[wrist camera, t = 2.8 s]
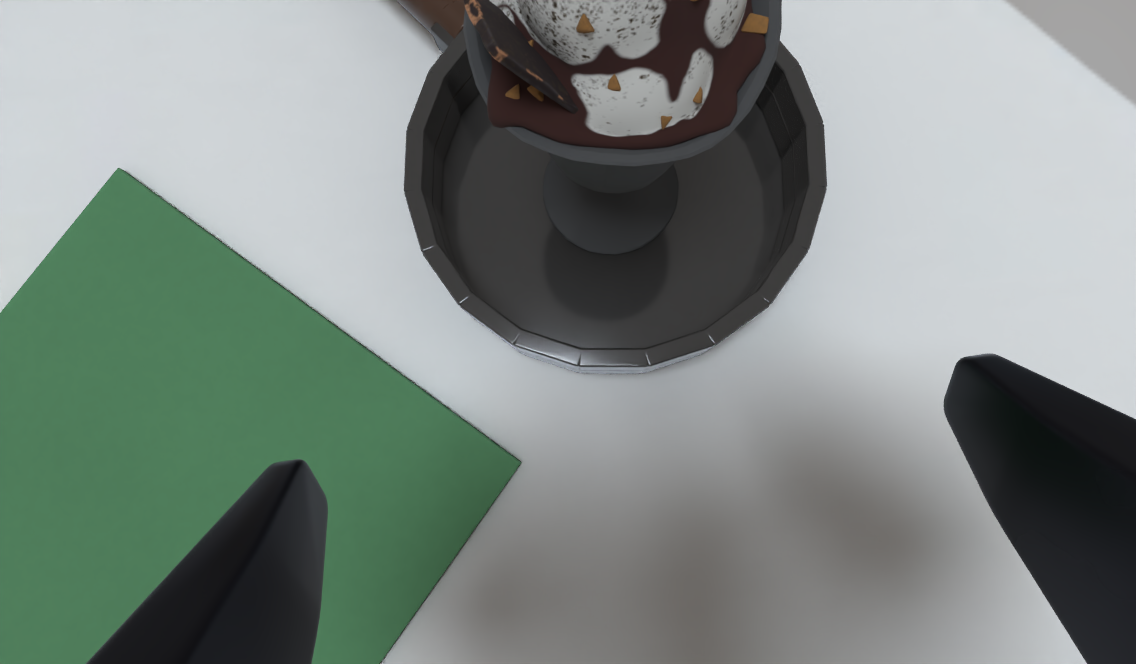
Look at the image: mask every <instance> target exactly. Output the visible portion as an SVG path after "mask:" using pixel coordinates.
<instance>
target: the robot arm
mask: <svg viewBox="0 0 1136 664" xmlns="http://www.w3.org/2000/svg"><path fill="white" fill-rule="evenodd" d="M944 412H945V416H946V418H947V420H948V422H949V424H950V426H951V429H952V431H953V433H954V435H955V437H956V439H957V441H958V443H959V445H960V447H961V449H962V451H963V453H964V455H965V457H966V459H967V461H968V463H969V465H970V468H971V470H972V472H973V474H974V476H975V478H976V480H977V482H978V484H979V486H980V488H981V490H982V492H983V494H984V496H985V498H986V500H987V502H988V504H989V506H990V508H991V510H992V512H993V513H994V515H995V517H996V519H997V520H998V522H999V524H1000V525H1001V527H1002V529H1003V530H1004V532H1005V534H1006V535H1007V537H1008V538H1009V540H1010V541H1011V543H1012V545H1013V546H1014V548H1015V549H1016V551H1017V553H1018V554H1019V556H1020V557H1021V559H1022V561H1023V562H1024V564H1025V565H1026V567H1027V569H1028V570H1029V572H1030V573H1031V575H1032V577H1033V578H1034V580H1035V581H1036V583H1037V584H1038V586H1039V588H1040V589H1041V591H1042V592H1043V594H1044V596H1045V597H1046V599H1047V600H1048V602H1049V604H1050V605H1051V607H1052V608H1053V610H1054V612H1055V613H1056V615H1057V616H1058V618H1059V620H1060V621H1061V623H1062V624H1063V626H1064V627H1065V629H1066V631H1067V632H1068V634H1069V635H1070V637H1071V639H1072V640H1073V642H1074V643H1075V645H1076V647H1077V648H1078V650H1079V651H1080V653H1081V655H1082V656H1083V658H1084V659H1085V661H1086V663H1087V664H1136V419H1134V418H1132V417H1130V416H1128V415H1125V414H1123V413H1121V412H1119V411H1117V410H1115V409H1112V408H1110V407H1108V406H1106V405H1104V404H1102V403H1100V402H1097V401H1095V400H1093V399H1091V398H1089V397H1087V396H1085V395H1082V394H1080V393H1078V392H1076V391H1074V390H1072V389H1069V388H1067V387H1065V386H1063V385H1061V384H1059V383H1057V382H1054V381H1052V380H1050V379H1048V378H1046V377H1044V376H1041V375H1039V374H1037V373H1035V372H1033V371H1031V370H1029V369H1026V368H1024V367H1022V366H1020V365H1018V364H1016V363H1013V362H1011V361H1009V360H1007V359H1005V358H1003V357H1001V356H998V355H996V354H981V355H975V356H968V357H964V358H961V359H960V360H959V361H958V362H957V363H956V365H955V368H954V371H953V374H952V377H951V380H950V383H949V386H948V389H947V392H946V395H945V398H944ZM327 519H328V504H327V499H326V496H325V494H324V492H323V490H322V488H321V486H320V485H319V483H318V481H317V479H316V478H315V476H314V474H313V472H312V471H311V469H310V467H309V465H308V464H307V463H306V462H305V461H304V460H302V459H294V460H288V461H281V462H276V463H273V464H271V465H270V466H269V467H267V468H266V469H265V470H264V472H263V473H262V474H261V475H260V476H259V477H258V478H257V479H256V480H255V481H254V482H253V483H252V484H251V486H250V487H249V488H248V489H247V490H246V491H245V492H244V493H243V494H242V495H241V496H240V497H239V499H238V500H237V501H236V502H235V503H234V504H233V505H232V506H231V507H230V508H229V509H228V510H227V511H226V513H225V514H224V515H223V516H222V517H221V518H220V519H219V520H218V521H217V522H216V523H215V524H214V526H213V527H212V528H211V529H210V530H209V531H208V532H207V533H206V534H205V535H204V536H203V537H202V538H201V540H200V541H199V542H198V543H197V544H196V545H195V546H194V547H193V548H192V549H191V550H190V551H189V553H188V554H187V555H186V556H185V557H184V558H183V559H182V560H181V561H180V562H179V563H178V564H177V565H176V567H175V568H174V569H173V570H172V571H171V572H170V573H169V574H168V575H167V576H166V577H165V578H164V580H163V581H162V582H161V583H160V584H159V585H158V586H157V587H156V588H155V589H154V590H153V591H152V592H151V594H150V595H149V596H148V597H147V598H146V599H145V600H144V601H143V602H142V603H141V604H140V605H139V607H138V608H137V609H136V610H135V611H134V612H133V613H132V614H131V615H130V616H129V617H128V618H127V619H126V621H125V622H124V623H123V624H122V625H121V626H120V627H119V628H118V629H117V630H116V631H115V632H114V634H113V635H112V636H111V637H110V638H109V639H108V640H107V641H106V642H105V643H104V644H103V645H102V646H101V648H100V649H99V650H98V651H97V652H96V653H95V654H94V655H93V656H92V657H91V658H90V659H89V661H88V662H87V663H86V664H312V659H313V653H314V648H315V643H316V637H317V632H318V625H319V619H320V610H321V601H322V587H323V574H324V560H325V547H326V533H327Z"/></svg>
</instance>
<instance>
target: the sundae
mask: <svg viewBox="0 0 1136 664" xmlns="http://www.w3.org/2000/svg"><path fill="white" fill-rule="evenodd" d="M781 2H782V0H464V5H465V13H464V25H463V32H464V37H465V43H466V49H467V54H468V60H469V63H470V67H471V70H472V74H473V77H474V80H475V84H476V86H477V88H478V90H479V92H480V94H481V96H482V98H483V99H484V101H485V103H486V105H487V113H488V117H489V120H490V122H491V123H492V125H493V126H494V127H498V128H506V129H507V130H508V131H510V132H511V133H512V134H513V135H515V136H516V137H517V138H519V139H520V140H521V141H523V142H525V143H528V144H530V145H532V146H534V147H537V148H539V149H541V150H543V151H546V152H548V153H549V155H550V156H551V157H552V158H551V160H550V162H549V164H548V166H547V168H546V171H545V176H544V181H543V199H544V203H545V207H546V210H547V213H548V216H549V219H550V220H551V222H552V223H553V224H554V226H555V227H556V229H557V230H558V231H559V232H560V233H561V234H562V235H563V236H564V238H565V239H567V240H568V241H570V242H571V243H573V244H575V245H576V246H578V247H580V248H582V249H585V250H587V251H589V252H594V253H600V254H615V255H616V254H621V253H626V252H630V251H633V250H636V249H639V248H641V247H643V246H645V245H646V244H648V243H649V242H651V241H652V240H653V239H655V238H656V237H657V236H658V235H659V234H660V233H661V232H663V230H664V229H665V227H666V226H667V224H668V223H669V221H670V220H671V218H672V216H673V213H674V211H675V209H676V205H677V200H678V189H679V182H678V178H677V173H676V170H675V167H674V165H673V164H674V163H675V162H676V160H681V159H686V158H690V157H692V156H694V155H697V154H699V153H701V152H703V151H705V150H708V149H710V148H712V147H713V146H715V145H716V144H717V143H719V142H720V141H721V140H723V139H724V138H725V137H726V136H728V135H729V134H730V133H731V132H732V131H733V130H734V129H735V128H736V127H737V126H738V124H739V123H740V122H741V121H742V120H743V119H744V118H745V116H746V115H747V114H748V113H749V112H750V110H751V109H752V107H753V105H754V103H755V102H756V100H757V98H758V96H759V95H760V93H761V91H762V89H763V88H764V85H765V83H766V81H767V78H768V76H769V74H770V72H771V69H772V67H773V65H774V62H775V60H776V58H777V52H778V46H779V40H780V33H781Z"/></svg>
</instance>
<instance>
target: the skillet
mask: <svg viewBox="0 0 1136 664" xmlns="http://www.w3.org/2000/svg"><path fill="white" fill-rule="evenodd" d="M551 158H552V157H551V156H550V155H549V153H548V152H546V151H543V150H541V149H539V148H537V147H534V146H532V145H530V144H528V143H525V142H523V141H521V140H520V139H519V138H517V137H516V136H515V135H513V134H512V133H511V132H510V131H508V130H507V129H506V128H498V127H494V126H493V125H492V123H491V122H490V120H489V117H488V113H487V105H486V103H485V101H484V99H483V98H482V96H481V94H480V92H479V90H478V88H477V86H476V84H475V80H474V77H473V74H472V70H471V67H470V63H469V60H468V54H467V49H466V43H465V37H464V32H463V29H462V30H461V31H460V32H459V34H458V35H457V36H456V37H455V39H454V40H453V41H452V42H451V44H450V45H449V46H448V47H447V49H446V50H445V51H444V52H443V54H442V55H441V56H440V57H439V59H438V60H437V61H436V62H435V64H434V65H433V66H432V67H431V69H430V70H429V72H428V74H427V77H426V80H425V82H424V85H423V87H422V90H421V93H420V95H419V98H418V101H417V103H416V106H415V108H414V111H413V114H412V116H411V119H410V122H409V124H408V127H407V131H406V153H405V176H404V192H405V197H406V201H407V204H408V208H409V211H410V214H411V218H412V221H413V225H414V228H415V232H416V235H417V238H418V242H419V245H420V249H421V251H422V252H423V256H424V257H425V258H426V260H427V261H428V263H429V264H430V265H431V267H432V268H433V270H434V271H435V273H436V274H437V275H438V277H439V278H440V280H441V281H442V283H443V284H444V285H445V287H446V288H447V290H448V291H449V293H450V294H451V295H452V297H453V298H454V300H455V301H456V302H457V304H458V305H459V306H460V307H461V308H462V309H463V310H464V311H466V312H467V313H468V314H469V315H470V316H472V317H473V318H474V319H475V320H476V321H478V322H479V323H480V324H482V325H483V326H484V327H486V328H487V329H489V330H490V331H491V332H493V333H494V334H495V335H497V336H498V337H499V338H501V339H502V340H504V341H505V342H506V343H508V344H509V345H510V346H512V347H513V348H514V349H516V350H517V351H518V352H520V353H522V354H524V355H526V356H529V357H532V358H535V359H538V360H541V361H544V362H547V363H550V364H553V365H556V366H558V367H561V368H565V369H568V370H571V371H574V372H577V373H580V372H581V373H586V374H640V373H646V372H649V371H652V370H655V369H658V368H662V367H665V366H668V365H671V364H674V363H677V362H680V361H683V360H686V359H689V358H692V357H695V356H699V355H700V354H703V353H704V352H706V351H707V350H709V349H710V348H712V347H714V346H715V345H717V344H718V343H719V342H721V341H722V340H724V339H725V338H726V337H728V336H729V335H730V334H732V333H733V332H735V331H736V330H737V329H739V328H740V327H741V326H743V325H744V324H746V323H747V322H748V321H750V320H751V319H752V318H754V317H755V316H757V315H758V314H759V313H761V312H762V311H763V310H765V309H766V308H767V307H769V305H770V304H772V302H773V301H774V299H775V298H776V296H777V295H778V294H779V292H780V291H781V289H782V288H783V287H784V285H785V284H786V282H787V281H788V280H789V278H790V277H791V275H792V274H793V272H794V271H795V270H796V268H797V267H798V265H799V264H800V263H801V261H802V260H803V258H804V257H805V256H806V254H807V253H808V250H809V248H810V245H811V242H812V238H813V235H814V231H815V228H816V224H817V221H818V218H819V214H820V211H821V207H822V204H823V200H824V197H825V194H826V187H827V176H826V157H825V138H824V125H823V120H822V118H821V115H820V113H819V110H818V108H817V105H816V103H815V100H814V98H813V95H812V93H811V91H810V88H809V86H808V83H807V81H806V78H805V76H804V73H803V71H802V68H801V66H800V65H799V63H798V61H797V60H796V59H795V58H794V57H793V56H792V54H791V53H790V52H789V51H788V50H787V49H786V47H785V46H784V45H783V44H782V43H781V41H780V40H779V46H778V52H777V58H776V60H775V62H774V65H773V67H772V69H771V72H770V74H769V76H768V78H767V81H766V83H765V85H764V88H763V89H762V91H761V93H760V95H759V96H758V98H757V100H756V102H755V103H754V105H753V107H752V109H751V110H750V112H749V113H748V114H747V115H746V116H745V118H744V119H743V120H742V121H741V122H740V123H739V124H738V126H737V127H736V128H735V129H734V130H733V131H732V132H731V133H730V134H729V135H728V136H726V137H725V138H724V139H723V140H721V141H720V142H719V143H717V144H716V145H715V146H713V147H712V148H710V149H708V150H705V151H703V152H701V153H699V154H697V155H694V156H692V157H690V158H686V159H681V160H676V162H675V163H674V164H673V165H674V167H675V170H676V173H677V178H678V182H679V189H678V200H677V205H676V209H675V211H674V213H673V216H672V218H671V220H670V221H669V223H668V224H667V226H666V227H665V229H664V230H663V232H661V233H660V234H659V235H658V236H657V237H656V238H655V239H653V240H652V241H651V242H649V243H648V244H646V245H645V246H643V247H641V248H639V249H636V250H633V251H630V252H626V253H621V254H616V255H615V254H600V253H594V252H589V251H587V250H585V249H582V248H580V247H578V246H576V245H575V244H573V243H571V242H570V241H568V240H567V239H565V238H564V236H563V235H562V234H561V233H560V232H559V231H558V230H557V229H556V227H555V226H554V224H553V223H552V222H551V220H550V219H549V216H548V213H547V210H546V207H545V203H544V199H543V181H544V176H545V171H546V168H547V166H548V164H549V162H550V160H551Z"/></svg>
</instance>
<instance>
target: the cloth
mask: <svg viewBox="0 0 1136 664" xmlns="http://www.w3.org/2000/svg"><path fill="white" fill-rule="evenodd" d="M294 459H302V460H304V461H305V462H306V463H307V464H308V465H309V467H310V469H311V471H312V472H313V474H314V476H315V478H316V479H317V481H318V483H319V485H320V486H321V488H322V490H323V492H324V494H325V496H326V499H327V504H328V519H327V533H326V547H325V560H324V574H323V587H322V601H321V610H320V619H319V625H318V632H317V637H316V643H315V648H314V653H313V659H312V664H380V663H381V661H382V660H383V659H384V657H385V656H386V654H387V653H388V652H389V650H390V649H391V647H392V646H393V644H394V643H395V642H396V640H397V639H398V637H399V636H400V634H401V633H402V632H403V630H404V629H405V627H406V626H407V625H408V623H409V622H410V620H411V619H412V617H413V616H414V615H415V613H416V612H417V610H418V609H419V608H420V606H421V605H422V603H423V602H424V600H425V599H426V598H427V596H428V595H429V593H430V592H431V590H432V589H433V588H434V586H435V585H436V583H437V582H438V581H439V579H440V578H441V576H442V575H443V573H444V572H445V571H446V569H447V568H448V566H449V565H450V563H451V562H452V561H453V559H454V558H455V556H456V555H457V554H458V552H459V551H460V549H461V548H462V546H463V545H464V544H465V542H466V541H467V539H468V538H469V537H470V535H471V534H472V532H473V531H474V529H475V528H476V527H477V525H478V524H479V522H480V521H481V519H482V518H483V517H484V515H485V514H486V512H487V511H488V510H489V508H490V507H491V505H492V504H493V502H494V501H495V500H496V498H497V497H498V495H499V494H500V493H501V491H502V490H503V488H504V487H505V485H506V484H507V483H508V481H509V480H510V478H511V477H512V475H513V474H514V473H515V471H516V470H517V468H518V467H519V466H520V464H521V461H519V460H518V459H517V458H515V457H514V456H512V455H511V454H510V453H508V452H507V451H506V450H504V449H503V448H502V447H500V446H499V445H497V444H496V443H495V442H493V441H492V440H491V439H489V438H488V437H486V436H485V435H484V434H482V433H481V432H480V431H478V430H477V429H476V428H474V427H473V426H471V425H470V424H469V423H467V422H466V421H465V420H463V419H462V418H461V417H459V416H458V415H456V414H455V413H454V412H452V411H451V410H450V409H448V408H447V407H446V406H444V405H443V404H441V403H440V402H439V401H437V400H436V399H435V398H433V397H432V396H431V395H429V394H428V393H426V392H425V391H424V390H422V389H421V388H420V387H418V386H417V385H416V384H414V383H413V382H411V381H410V380H409V379H407V378H406V377H405V376H403V375H402V374H401V373H399V372H398V371H396V370H395V369H394V368H392V367H391V366H390V365H388V364H387V363H386V362H384V361H383V360H381V359H380V358H379V357H377V356H376V355H375V354H373V353H372V352H371V351H369V350H368V349H366V348H365V347H364V346H362V345H361V344H360V343H358V342H357V341H356V340H354V339H353V338H351V337H350V336H349V335H347V334H346V333H345V332H343V331H342V330H341V329H339V328H338V327H336V326H335V325H334V324H332V323H331V322H330V321H328V320H327V319H326V318H324V317H323V316H321V315H320V314H319V313H317V312H316V311H315V310H313V309H312V308H311V307H309V306H308V305H306V304H305V303H304V302H302V301H301V300H300V299H298V298H297V297H296V296H294V295H293V294H291V293H290V292H289V291H287V290H286V289H285V288H283V287H282V286H281V285H279V284H278V283H276V282H275V281H274V280H272V279H271V278H270V277H268V276H267V275H266V274H264V273H263V272H261V271H260V270H259V269H257V268H256V267H255V266H253V265H252V264H251V263H249V262H248V261H246V260H245V259H244V258H242V257H241V256H240V255H238V254H237V253H236V252H234V251H233V250H231V249H230V248H229V247H227V246H226V245H225V244H223V243H222V242H221V241H219V240H218V239H216V238H215V237H214V236H212V235H211V234H210V233H208V232H207V231H206V230H204V229H203V228H201V227H200V226H199V225H197V224H196V223H195V222H193V221H192V220H191V219H189V218H188V217H186V216H185V215H184V214H182V213H181V212H180V211H178V210H177V209H176V208H174V207H173V206H171V205H170V204H169V203H167V202H166V201H165V200H163V199H162V198H161V197H159V196H158V195H156V194H155V193H154V192H152V191H151V190H150V189H148V188H147V187H146V186H144V185H143V184H141V183H140V182H139V181H137V180H136V179H135V178H133V177H132V176H131V175H129V174H128V173H126V172H125V171H124V170H122V169H120V168H118V169H117V170H116V171H115V172H114V173H113V175H112V176H111V177H110V178H109V180H108V181H107V182H106V183H105V185H104V186H103V187H102V188H101V189H100V191H99V192H98V193H97V194H96V196H95V197H94V198H93V199H92V201H91V202H90V203H89V204H88V205H87V207H86V208H85V209H84V210H83V212H82V213H81V214H80V215H79V217H78V218H77V219H76V220H75V222H74V223H73V224H72V225H71V226H70V228H69V229H68V230H67V231H66V233H65V234H64V235H63V236H62V238H61V239H60V240H59V241H58V242H57V244H56V245H55V246H54V247H53V249H52V250H51V251H50V252H49V254H48V255H47V256H46V257H45V259H44V260H43V261H42V262H41V263H40V265H39V266H38V267H37V268H36V270H35V271H34V272H33V273H32V275H31V276H30V277H29V278H28V279H27V281H26V282H25V283H24V284H23V286H22V287H21V288H20V289H19V291H18V292H17V293H16V294H15V295H14V297H13V298H12V299H11V300H10V302H9V303H8V304H7V305H6V307H5V308H4V309H3V310H2V312H1V313H0V664H86V663H87V662H88V661H89V659H90V658H91V657H92V656H93V655H94V654H95V653H96V652H97V651H98V650H99V649H100V648H101V646H102V645H103V644H104V643H105V642H106V641H107V640H108V639H109V638H110V637H111V636H112V635H113V634H114V632H115V631H116V630H117V629H118V628H119V627H120V626H121V625H122V624H123V623H124V622H125V621H126V619H127V618H128V617H129V616H130V615H131V614H132V613H133V612H134V611H135V610H136V609H137V608H138V607H139V605H140V604H141V603H142V602H143V601H144V600H145V599H146V598H147V597H148V596H149V595H150V594H151V592H152V591H153V590H154V589H155V588H156V587H157V586H158V585H159V584H160V583H161V582H162V581H163V580H164V578H165V577H166V576H167V575H168V574H169V573H170V572H171V571H172V570H173V569H174V568H175V567H176V565H177V564H178V563H179V562H180V561H181V560H182V559H183V558H184V557H185V556H186V555H187V554H188V553H189V551H190V550H191V549H192V548H193V547H194V546H195V545H196V544H197V543H198V542H199V541H200V540H201V538H202V537H203V536H204V535H205V534H206V533H207V532H208V531H209V530H210V529H211V528H212V527H213V526H214V524H215V523H216V522H217V521H218V520H219V519H220V518H221V517H222V516H223V515H224V514H225V513H226V511H227V510H228V509H229V508H230V507H231V506H232V505H233V504H234V503H235V502H236V501H237V500H238V499H239V497H240V496H241V495H242V494H243V493H244V492H245V491H246V490H247V489H248V488H249V487H250V486H251V484H252V483H253V482H254V481H255V480H256V479H257V478H258V477H259V476H260V475H261V474H262V473H263V472H264V470H265V469H266V468H267V467H269V466H270V465H271V464H273V463H276V462H281V461H288V460H294Z"/></svg>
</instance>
